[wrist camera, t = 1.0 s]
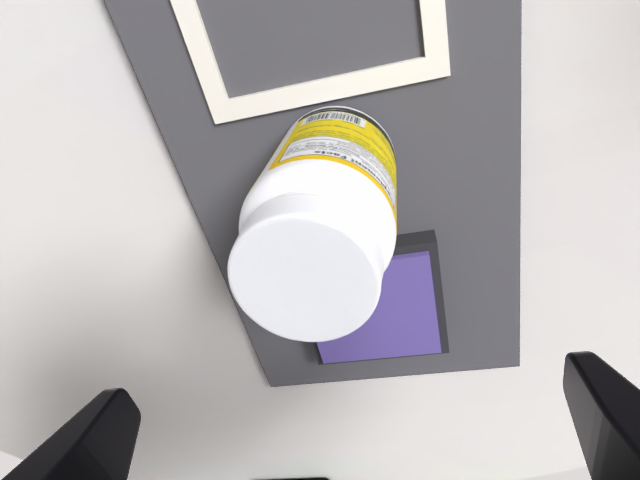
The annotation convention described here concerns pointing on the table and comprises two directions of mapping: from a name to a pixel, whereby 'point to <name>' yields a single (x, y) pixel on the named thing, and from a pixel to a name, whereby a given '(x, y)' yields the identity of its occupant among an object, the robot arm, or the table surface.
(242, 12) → the mat
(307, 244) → the supplement bottle
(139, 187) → the table surface
